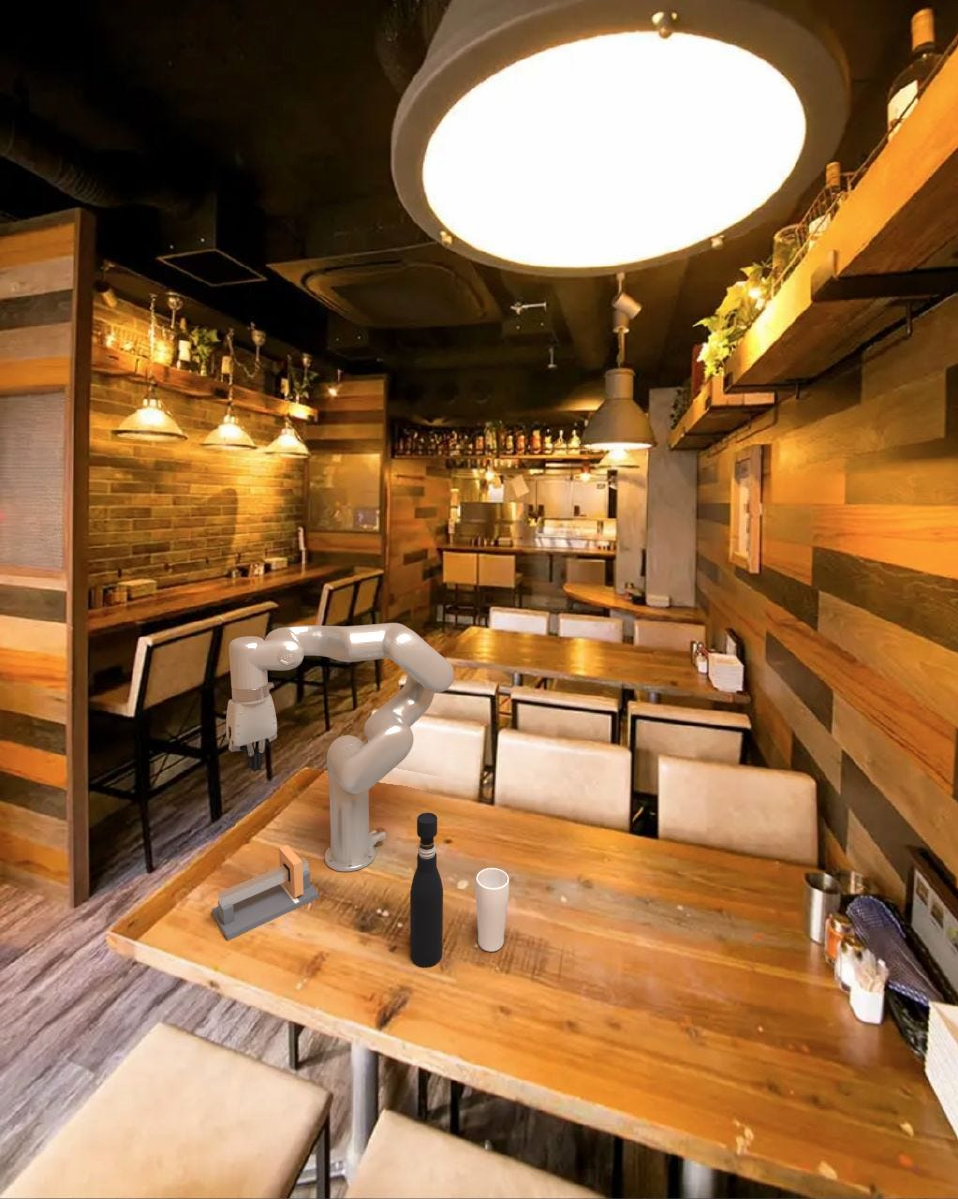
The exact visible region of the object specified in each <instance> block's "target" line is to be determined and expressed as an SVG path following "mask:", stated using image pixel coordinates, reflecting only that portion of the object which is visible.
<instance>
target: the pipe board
mask: <svg viewBox="0 0 958 1199" xmlns="http://www.w3.org/2000/svg"><path fill="white" fill-rule="evenodd" d="M303 891H304V894H302V895H300V896H297V897H294V896H293V894H292V893H291V892H290V891H289V889H288V888H287V887H286V886H285V884H284V883H281V884H279V885H276V886H274V887H272V888H269V889H267V890H265V891H263V892H260V893H258V894H256V895H253V896H251V897H249V898H246V899H244V900H242V901H239V902H237V903H235V904H233V905H230V906H228V907H226V908H223V909H222V907H221V905H220V904H219V900H218V901H217V906H215V907H213V908H211V914H212V917H213V918H214V920H215V922H216V923H217V926H219V929H220V931H221V933H222V934H223V936H224V937H225V939H226V940H227V941H230V940H233V939H234V938H235V939H236V938H237V937H239V936H240V935H243V934H245V933H247V932H250V931H251V930H254V929H256V928H258V927H260V926H263V925H264V924H266V923H268V922H270V921H273V920H275V919H277V918H279V917H281V916H283V915H285V914H288V913H290V912H292V911H295V910H296V909H298V908H300V907H302V906H305V905H306V904H309V903H311V902H313V901H316V900H317V899H319V896H320V894H319V893H320V892H319V891H317V889H315V887H314V886H313V885H312V884H311V873H310V871H309V872H306V873H304V874H303Z"/></svg>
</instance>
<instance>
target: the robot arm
mask: <svg viewBox="0 0 958 1199" xmlns="http://www.w3.org/2000/svg"><path fill="white" fill-rule="evenodd" d="M228 645H229V646H228V652H229V654H228V655H229V668H230V685H231V697H232V699H229V700H228V701H227V708H226V709H227V710H226V722H225V723H226V725H225V733H226V734H225V735H226V740H227V741H229V744H228V750H229V751H230V752H243V753H244V754H245V755H246V765H247V768H248V769H250V770H251V771H253V772H254V773H256V772H258V771H261V770H262V765H263V763H264V761H263V760H264V759H263V758H264V757H263V753H264V752H265V748H266V747H267V746H268V744H269V743H270V742H272V741H274V740H276V739H278V734H277V732H278V721H277V715H276V714H277V712H276V708H275V704H274V701H273V697H272V695H271V693H270V690H271V689H273V688H275V685H274V683H273V681H272V682H268V671H290V670H292V669H295V668H298V666H300V665H301V664H302V662H303V661H304V660H303V659H304V657H305V656H317V657H319V656H320V657H326V658H329V659H333V660H334V661H335V660H336V661H338V662H345V663H355V662H362V661H372V660H383V659H390V660H391V661H392V662H394V663H395V664H396V665H397V666H398V667H399V668H400V669H402V671H404V672H405V673H406V674H407V676H406V680H405V683H404V684H403V686H402V687H401V689H400V690H399V691H398V692H397V693H396V694H395V695H394V696H393V697H392V698H390V699H389V700H388V701H387V702H386V703H384V704H383V705H382V706H381V707H380V708H378V709H377V710H376V711H374V713H372V714H371V715H370V716H369V717H368V719H366V720H365V724H364V727H363V731H364V734H365V737H366V739H367V740H368V741H367V743H366V744H365V743H364V742H363V741H362V740H361V739H359V737H357V736H354V735H349V734H347V735H346V734H345V735H341V736H339V737H336V739H335V740H333V741H332V743H331V744H330V745H329V748H328V750H327V752H326V753H327V755H326V767H327V768H326V769H327V776H328V778H327V779H328V786H329V787H328V788H329V789H328V790H329V823H330V824H329V825H330V845H329V847H327V849H326V851H325V853H324V862H325V864H326V865H327V867H329V868H330V869H333V870H335V871H338V872H346V873H347V872H354V871H358V870H361V869H363V868H366V867H368V866H369V865H370V864H371V863H372V862H373V861H374V860H375V858H376V855H377V854H376V853H377V852H376V850H377V849H376V847H375V845H377V843H378V842H381V841H383V840H385V839H387V833H386V832H385V831H384V830H383V831H381V832H378V833H377V830H376V829H373V830H371V831H370V789H371V788H373V787H374V786H376V785H377V784H378V783H379V782H380V781H381V780H382V779H384V778H385V777H386V776H387V775H388V774H389V773H390V772H392V771H393V770H394V769H395V768H396V767H398V765H400V764H401V763H402V762H403V761H404V760H405V759H406V757H407V756H408V755H409V754H410V752H411V750H412V748H413V746H414V733H413V731H412V728H411V727H412V726H413V725H414V724H415V723H416V722H418V720H419V719H420V718H422V717H423V715H424V714H425V713H426V712H427V711H428V710H429V708H430V707H431V704H432V702H433V701H434V700H433V699H434V697H435V693H443V692H445V691H447V690H449V688H450V687H451V686H452V684H453V683H454V680H455V669H454V668H453V667H454V666H453V665H452V664H451V663H450V662H449V660H447V659H446V658H445V657H444V656H442V654H440V653H439V651H437V650H436V649H435V648H433V647H432V646H431V645H430V644H428V643H427V641H425V640H424V639H423V637H421V636H420V635H419V634H418V633H416V632H415V631H414V630H412V629H411V628H409V627H407V626H406V625H404V624H402V623H398V622H388V623H375V624H364V625H363V624H362V625H349V626H348V625H347V626H339V625H297V626H286V627H279V628H276V629H273V630H272V631H270V632H269V633H268V634H267V635H266V636H265V638H264V639H263V638H262V637H259V636H256V635H255V636H254V635H250V636H241V637H237V638H234V639H233V640H231V641H230V643H229V644H228Z"/></svg>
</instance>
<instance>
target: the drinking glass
mask: <svg viewBox="0 0 958 1199" xmlns="http://www.w3.org/2000/svg"><path fill="white" fill-rule="evenodd" d="M475 878H476V879H475V907H476V921H477V922H476V923H477V924H476V925H477V942H478V943H477V944H478V946H479V947H480V948H481V949H482V950H484V951H485V952H490V953H493V952H497V951H498V950H499V951H500V949H501V948H502V947H503V945H504V942H505V932H506V920H507V915H508V914H507V913H508V906H509V898H510V878H509V875H508V874H507V872H506V871H504V870H502V869H500V868H496V867H487V868H483V869H482V870H480V871H479V872H478V873H477V875H476V877H475Z"/></svg>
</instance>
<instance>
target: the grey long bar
mask: <svg viewBox="0 0 958 1199" xmlns="http://www.w3.org/2000/svg"><path fill="white" fill-rule="evenodd" d="M299 858H300V857H299ZM300 859H301V860H302V863H303V874H304V873H306V872H310V871H309V870H310V869H309V861H308V860H307V859H306V858H305V857H304V856H302V857H301V858H300ZM286 881H290V869H289V867H288V866H287V865H286V864H283V866H281V867H280V866H279V867H277V868H274V869H271V870H269V871H267V872H265V873H262V874H260V875H257V876H255V877H252V878H250V879H248V880H245V881H243V882H240V883H238V884H235V885H233V886H230V887H229V888H228V887H227V888H226V889H224V890H221V891H219V892H218V894H217V896H218V901H219V904H220V905H221V907H222V909H223V908H226V907H228V906H230V905H233V904H235V903H237V902H239V901H242V900H244V899H246V898H249V897H251V896H253V895H256V894H258V893H260V892H263V891H265V890H267V889H269V888H272V887H274V886H276V885H279V884H281V883H283V882H286Z"/></svg>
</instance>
